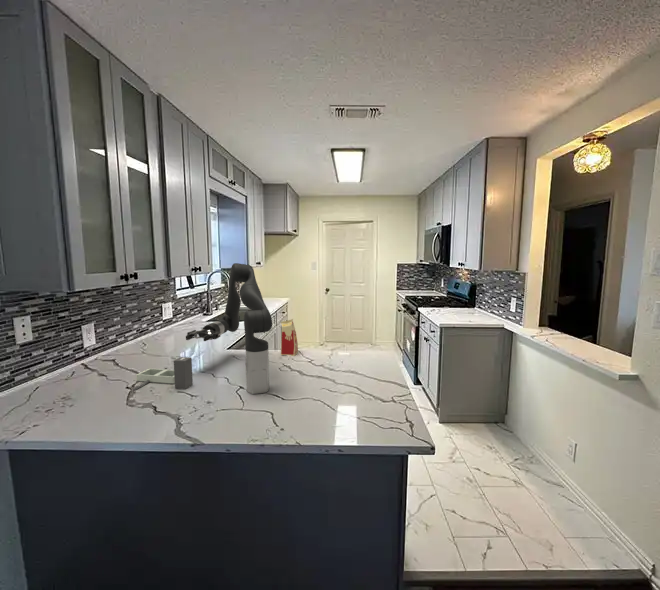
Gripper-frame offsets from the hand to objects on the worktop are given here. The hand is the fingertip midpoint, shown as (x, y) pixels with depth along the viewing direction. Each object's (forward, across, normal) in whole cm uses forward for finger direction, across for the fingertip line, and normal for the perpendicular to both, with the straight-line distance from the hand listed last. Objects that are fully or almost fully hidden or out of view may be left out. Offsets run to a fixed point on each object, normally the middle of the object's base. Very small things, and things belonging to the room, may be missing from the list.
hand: (195, 338), depth 151 cm
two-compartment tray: (+10, -14, +18) cm, 25 cm away
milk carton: (-44, +30, +19) cm, 56 cm away
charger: (+10, 0, +18) cm, 21 cm away
